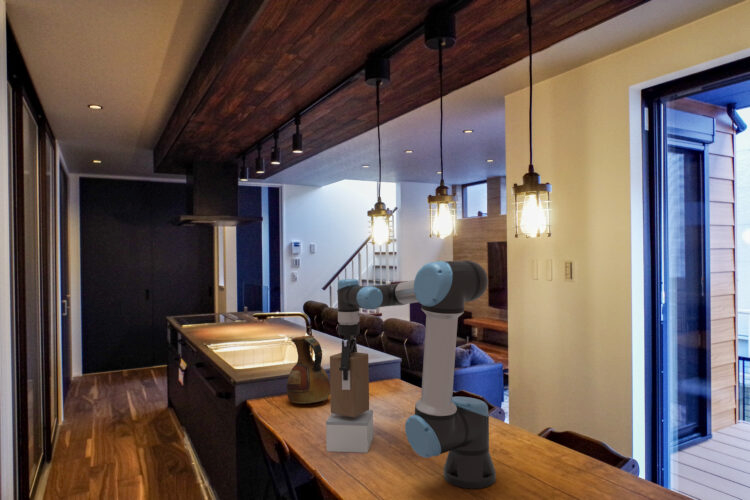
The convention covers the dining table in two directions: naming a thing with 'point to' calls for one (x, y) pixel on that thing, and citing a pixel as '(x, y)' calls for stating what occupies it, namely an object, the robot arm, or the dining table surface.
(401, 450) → the dining table surface
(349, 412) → the wooden block
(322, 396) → the ceramic pitcher
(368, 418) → the base brick
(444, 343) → the robot arm
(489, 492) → the dining table surface
